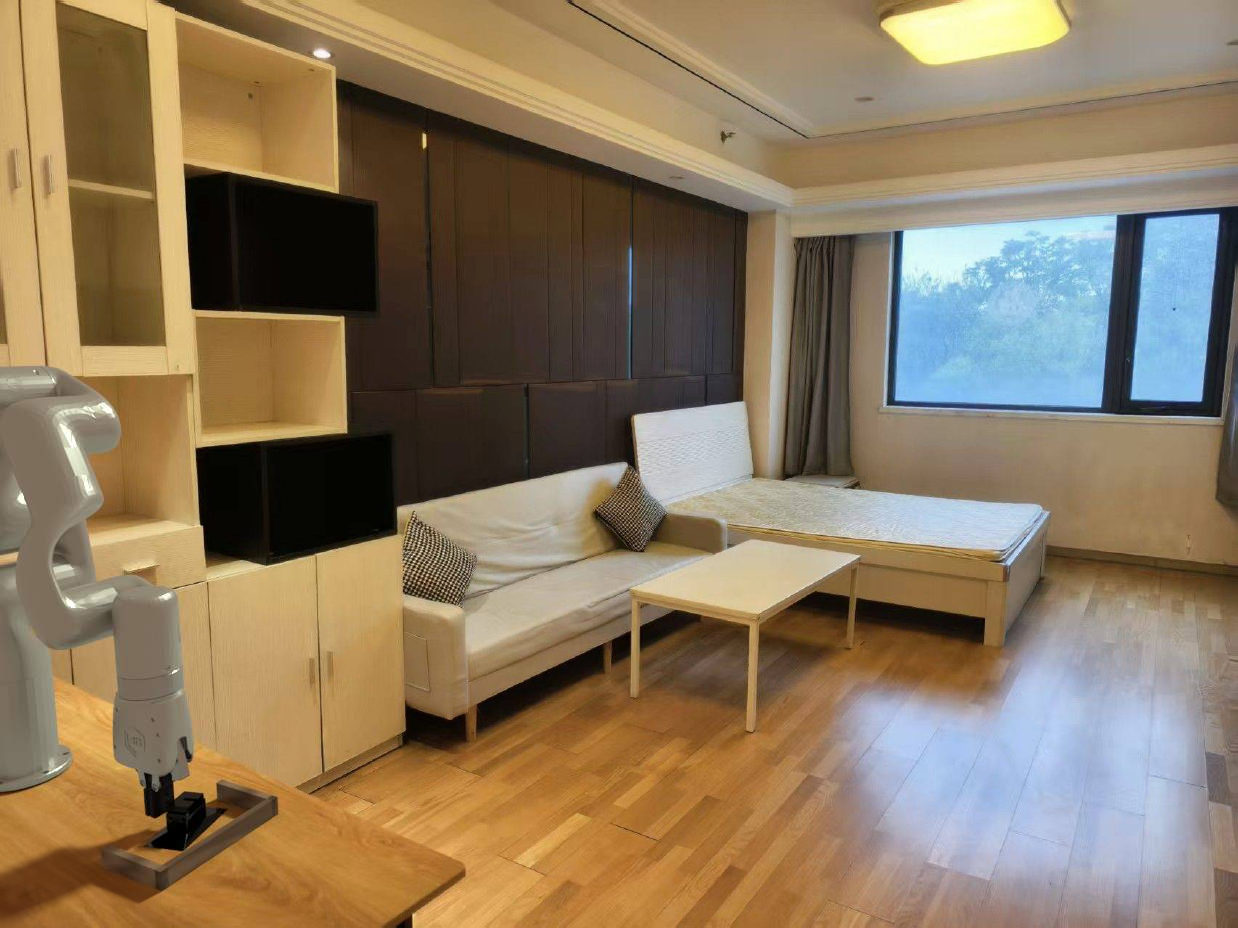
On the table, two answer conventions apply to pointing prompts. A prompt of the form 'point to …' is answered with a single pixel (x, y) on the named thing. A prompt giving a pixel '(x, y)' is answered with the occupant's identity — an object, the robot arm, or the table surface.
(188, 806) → the build plate
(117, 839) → the table surface
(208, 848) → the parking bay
